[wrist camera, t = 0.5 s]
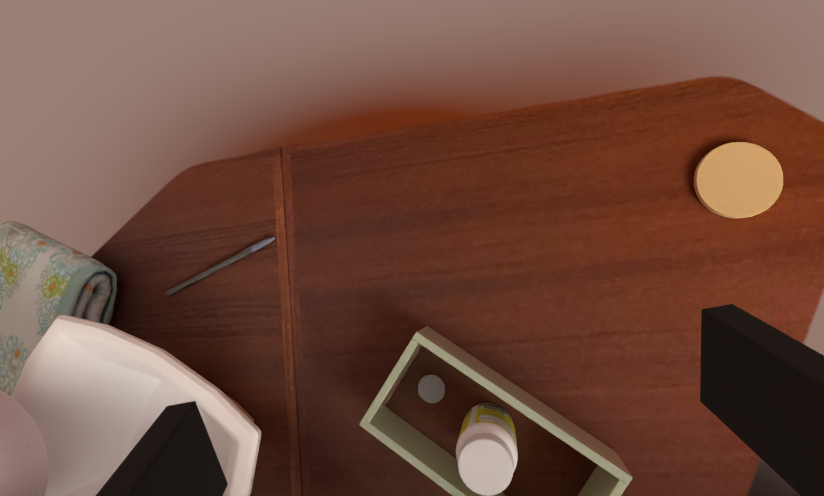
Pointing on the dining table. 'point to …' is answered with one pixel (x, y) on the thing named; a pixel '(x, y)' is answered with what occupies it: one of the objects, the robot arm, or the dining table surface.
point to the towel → (44, 293)
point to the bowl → (120, 405)
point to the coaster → (738, 180)
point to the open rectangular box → (440, 465)
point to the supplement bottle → (487, 449)
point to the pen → (221, 265)
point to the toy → (20, 451)
